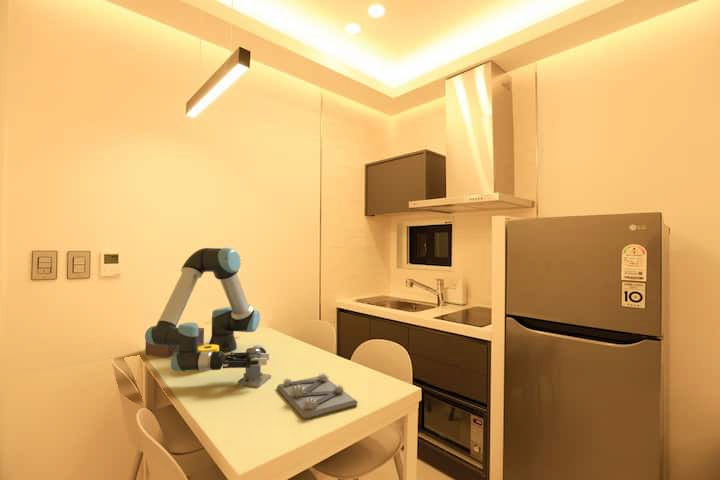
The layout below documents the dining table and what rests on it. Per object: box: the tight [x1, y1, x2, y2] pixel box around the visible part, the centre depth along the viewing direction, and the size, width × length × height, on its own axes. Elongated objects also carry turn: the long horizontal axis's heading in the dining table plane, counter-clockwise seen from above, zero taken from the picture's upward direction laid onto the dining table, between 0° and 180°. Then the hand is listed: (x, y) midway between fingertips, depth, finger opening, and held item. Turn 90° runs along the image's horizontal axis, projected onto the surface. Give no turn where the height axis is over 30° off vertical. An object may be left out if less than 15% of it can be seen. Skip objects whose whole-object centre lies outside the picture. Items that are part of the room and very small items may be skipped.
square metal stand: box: [237, 373, 272, 388], centre depth 144 cm, size 10×10×10 cm
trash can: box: [243, 347, 263, 380], centre depth 144 cm, size 8×6×12 cm
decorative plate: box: [276, 372, 359, 420], centre depth 130 cm, size 30×22×7 cm
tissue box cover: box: [144, 327, 205, 359], centre depth 189 cm, size 26×14×10 cm, turn 162°
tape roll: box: [197, 344, 219, 372], centre depth 161 cm, size 10×10×9 cm
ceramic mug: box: [252, 344, 267, 353], centre depth 171 cm, size 11×8×8 cm
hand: (267, 358), depth 145 cm, fingers open, 6 cm apart
